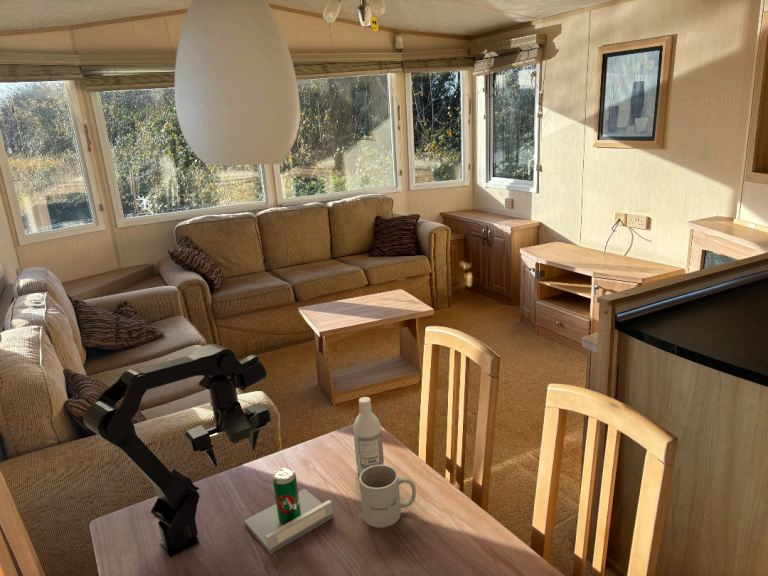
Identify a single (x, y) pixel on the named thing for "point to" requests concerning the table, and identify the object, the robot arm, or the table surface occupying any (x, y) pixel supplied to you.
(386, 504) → the mug
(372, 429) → the bath foam
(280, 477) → the soda can
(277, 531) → the shelf
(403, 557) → the table surface
